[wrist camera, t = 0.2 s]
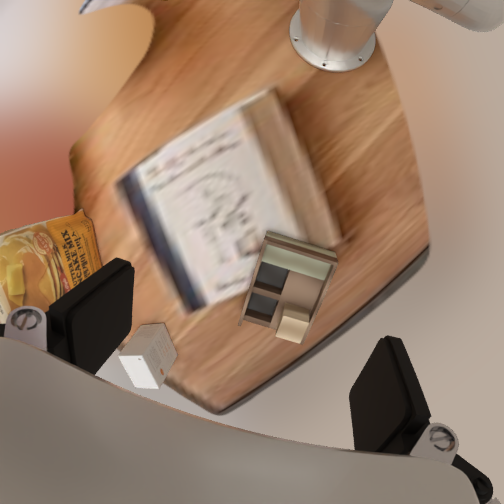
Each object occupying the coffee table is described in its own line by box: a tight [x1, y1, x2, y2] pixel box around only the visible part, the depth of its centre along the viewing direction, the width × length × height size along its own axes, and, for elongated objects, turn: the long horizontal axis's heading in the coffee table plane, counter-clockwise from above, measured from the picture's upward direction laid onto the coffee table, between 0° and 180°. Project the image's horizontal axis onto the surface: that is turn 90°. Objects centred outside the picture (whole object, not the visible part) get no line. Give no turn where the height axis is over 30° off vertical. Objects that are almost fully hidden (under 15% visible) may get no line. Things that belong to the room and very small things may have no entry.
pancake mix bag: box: [0, 209, 102, 324], centre depth 41 cm, size 7×19×28 cm, turn 4°
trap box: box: [238, 231, 338, 345], centre depth 48 cm, size 15×11×4 cm
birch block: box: [275, 302, 309, 343], centre depth 47 cm, size 4×4×4 cm
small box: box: [118, 323, 178, 389], centre depth 53 cm, size 8×6×10 cm
